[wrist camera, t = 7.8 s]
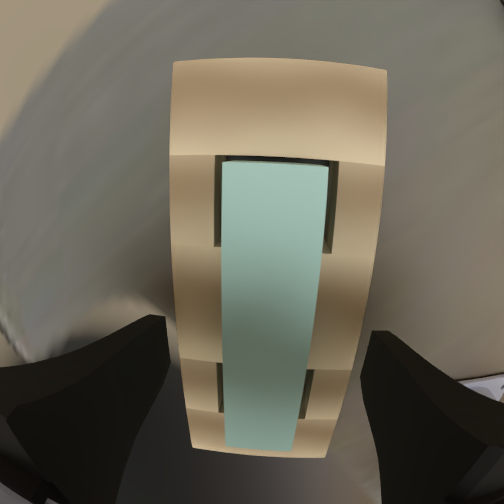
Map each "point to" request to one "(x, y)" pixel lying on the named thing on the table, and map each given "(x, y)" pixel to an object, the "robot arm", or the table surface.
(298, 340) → the mint green plank
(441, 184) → the table surface
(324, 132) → the slotted rail
